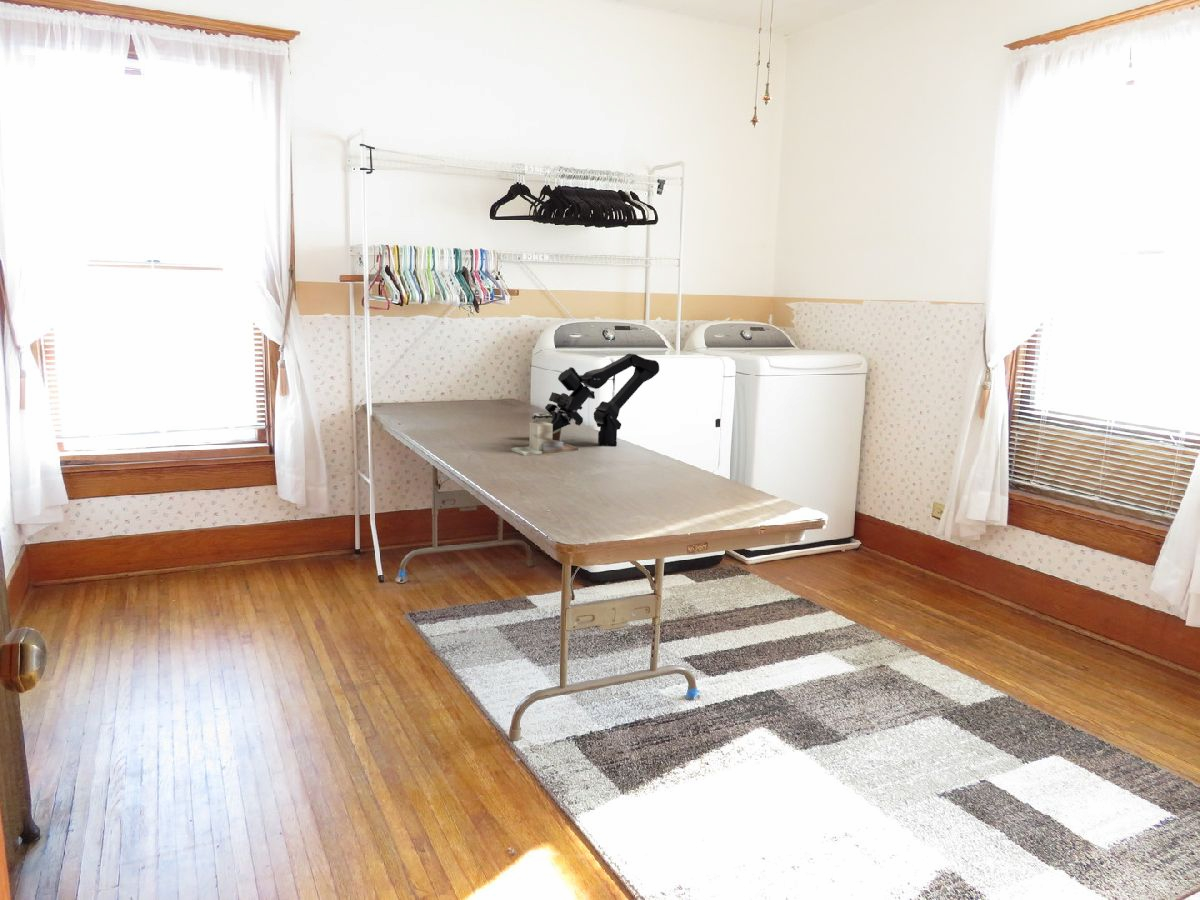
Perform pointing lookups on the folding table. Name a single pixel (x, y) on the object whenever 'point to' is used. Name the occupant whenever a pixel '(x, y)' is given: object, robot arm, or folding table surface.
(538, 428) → the block
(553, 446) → the chute
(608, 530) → the folding table surface
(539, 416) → the food container
